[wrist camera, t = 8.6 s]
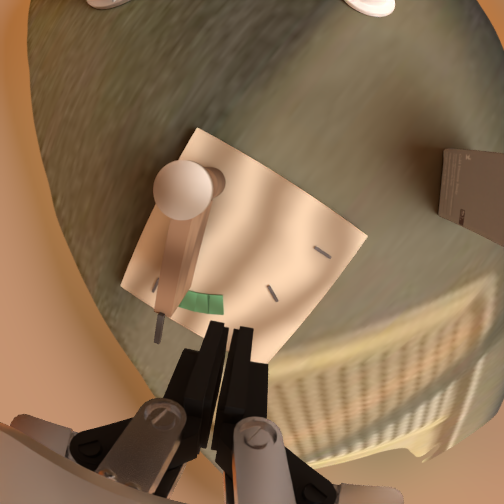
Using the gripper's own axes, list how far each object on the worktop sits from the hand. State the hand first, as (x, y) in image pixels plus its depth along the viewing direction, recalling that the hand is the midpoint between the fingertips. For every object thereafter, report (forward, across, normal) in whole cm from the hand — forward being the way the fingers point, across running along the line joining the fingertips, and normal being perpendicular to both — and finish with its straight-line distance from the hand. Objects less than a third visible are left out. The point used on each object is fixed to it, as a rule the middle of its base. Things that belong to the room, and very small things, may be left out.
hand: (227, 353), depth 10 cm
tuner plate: (+19, +2, +4) cm, 20 cm away
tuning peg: (+18, +6, +2) cm, 19 cm away
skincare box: (+19, -23, -10) cm, 32 cm away
